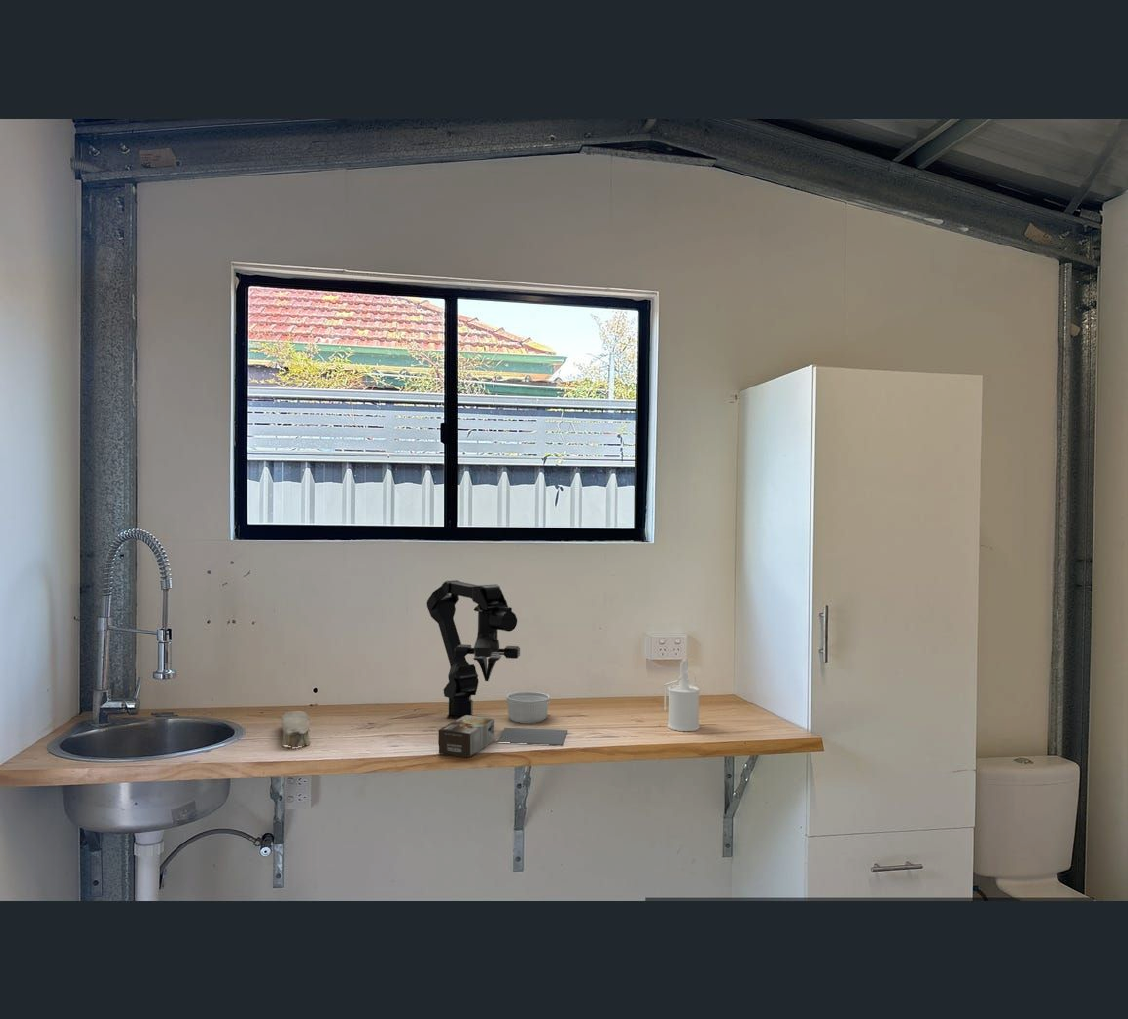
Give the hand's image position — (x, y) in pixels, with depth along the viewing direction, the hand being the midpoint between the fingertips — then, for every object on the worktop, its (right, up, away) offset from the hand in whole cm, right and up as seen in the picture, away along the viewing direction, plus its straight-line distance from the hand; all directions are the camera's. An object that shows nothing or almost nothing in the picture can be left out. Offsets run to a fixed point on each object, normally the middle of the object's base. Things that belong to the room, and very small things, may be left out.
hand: (487, 680), depth 228 cm
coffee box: (0, -10, -14) cm, 17 cm away
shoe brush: (-51, -13, -14) cm, 55 cm away
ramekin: (+12, -14, +8) cm, 19 cm away
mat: (+14, -13, -11) cm, 22 cm away
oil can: (+57, -14, +1) cm, 59 cm away
